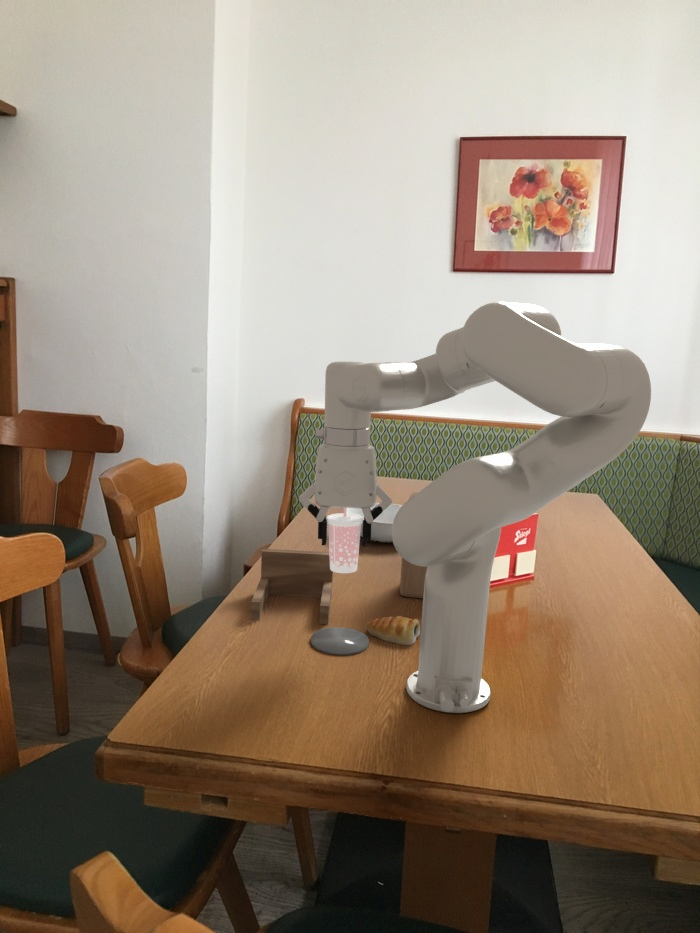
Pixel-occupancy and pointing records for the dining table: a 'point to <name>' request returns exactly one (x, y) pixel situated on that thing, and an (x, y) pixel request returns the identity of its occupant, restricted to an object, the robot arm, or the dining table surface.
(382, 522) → the serving bowl
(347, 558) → the beverage cup
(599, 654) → the dining table surface
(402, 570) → the block
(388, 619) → the pastry
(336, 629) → the coaster
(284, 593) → the rack
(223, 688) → the dining table surface
